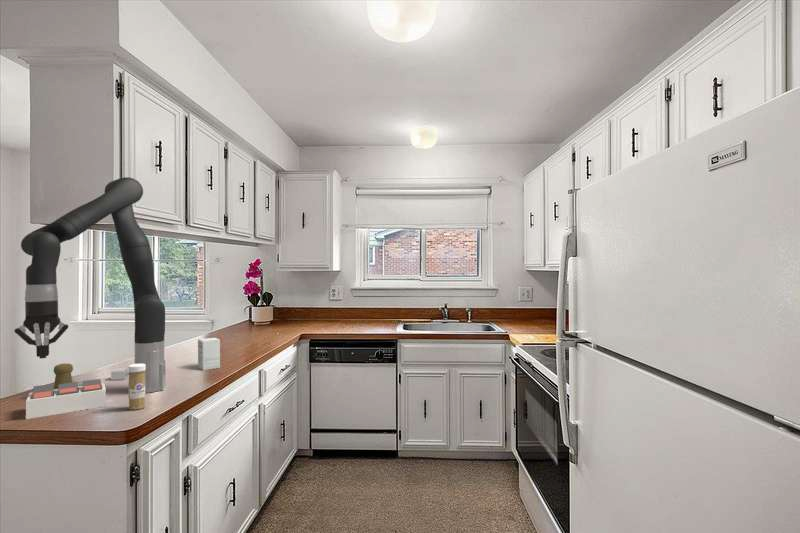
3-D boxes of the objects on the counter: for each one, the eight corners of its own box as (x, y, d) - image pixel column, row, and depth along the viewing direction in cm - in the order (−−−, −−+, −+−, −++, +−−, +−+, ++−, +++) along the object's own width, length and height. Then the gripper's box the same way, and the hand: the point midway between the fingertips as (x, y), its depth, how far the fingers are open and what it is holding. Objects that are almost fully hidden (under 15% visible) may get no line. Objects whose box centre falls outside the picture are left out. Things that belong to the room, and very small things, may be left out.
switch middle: (77, 385, 139) (77, 381, 138) (77, 395, 133) (77, 390, 133) (58, 387, 136) (58, 383, 135) (57, 397, 130) (57, 393, 130)
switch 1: (53, 387, 135) (53, 383, 135) (52, 400, 130) (52, 395, 129) (33, 389, 132) (33, 385, 132) (31, 402, 127) (31, 398, 126)
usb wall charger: (115, 378, 172) (115, 368, 172) (135, 377, 173) (135, 367, 173) (111, 380, 168) (111, 370, 168) (131, 379, 170) (131, 369, 170)
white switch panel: (104, 398, 144) (104, 383, 144) (105, 406, 136) (105, 389, 136) (29, 409, 133) (29, 392, 133) (25, 419, 125) (25, 401, 125)
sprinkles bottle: (133, 411, 131) (133, 366, 131) (125, 409, 133) (125, 365, 133) (148, 407, 135) (148, 363, 135) (140, 405, 137) (140, 362, 137)
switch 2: (100, 382, 142) (100, 378, 142) (101, 391, 137) (101, 387, 136) (82, 384, 139) (82, 380, 139) (82, 394, 134) (82, 390, 133)
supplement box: (215, 365, 194) (215, 337, 194) (220, 368, 189) (220, 339, 189) (197, 367, 190) (197, 338, 190) (202, 370, 184) (202, 341, 184)
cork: (78, 393, 150) (78, 362, 150) (65, 398, 144) (65, 365, 144) (60, 394, 150) (60, 362, 150) (47, 399, 144) (47, 366, 144)
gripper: (70, 297, 136) (71, 353, 136) (13, 300, 128) (14, 359, 128) (69, 299, 130) (70, 356, 130) (10, 301, 122) (11, 363, 122)
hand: (42, 357), depth 129 cm, fingers closed
